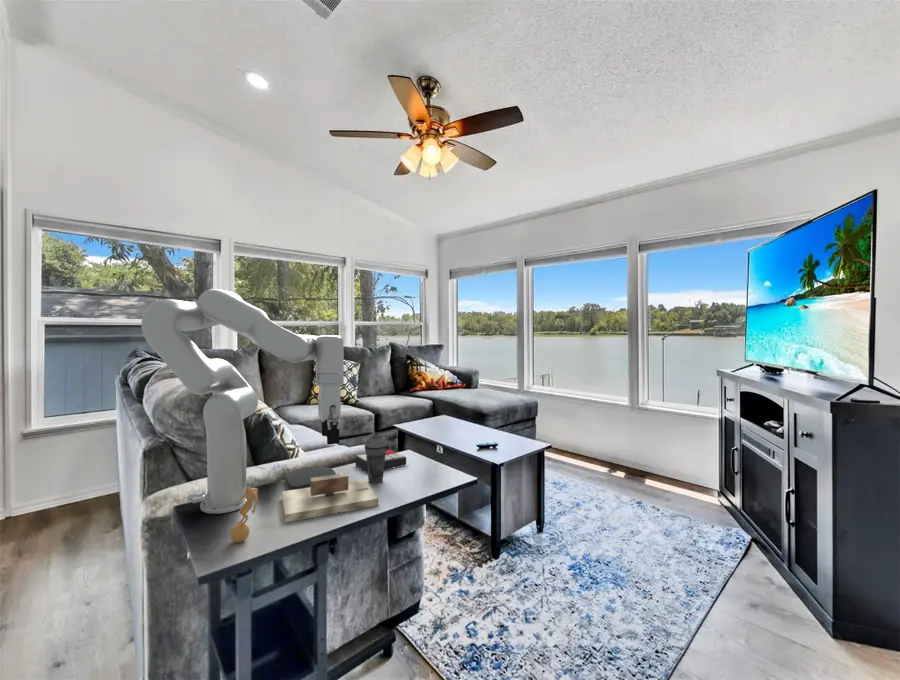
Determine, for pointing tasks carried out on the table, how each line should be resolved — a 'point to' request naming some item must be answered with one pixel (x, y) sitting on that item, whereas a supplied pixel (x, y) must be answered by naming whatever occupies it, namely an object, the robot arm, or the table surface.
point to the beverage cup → (375, 456)
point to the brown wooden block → (329, 484)
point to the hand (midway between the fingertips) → (330, 439)
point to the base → (327, 501)
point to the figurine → (244, 516)
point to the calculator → (390, 460)
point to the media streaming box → (305, 476)
